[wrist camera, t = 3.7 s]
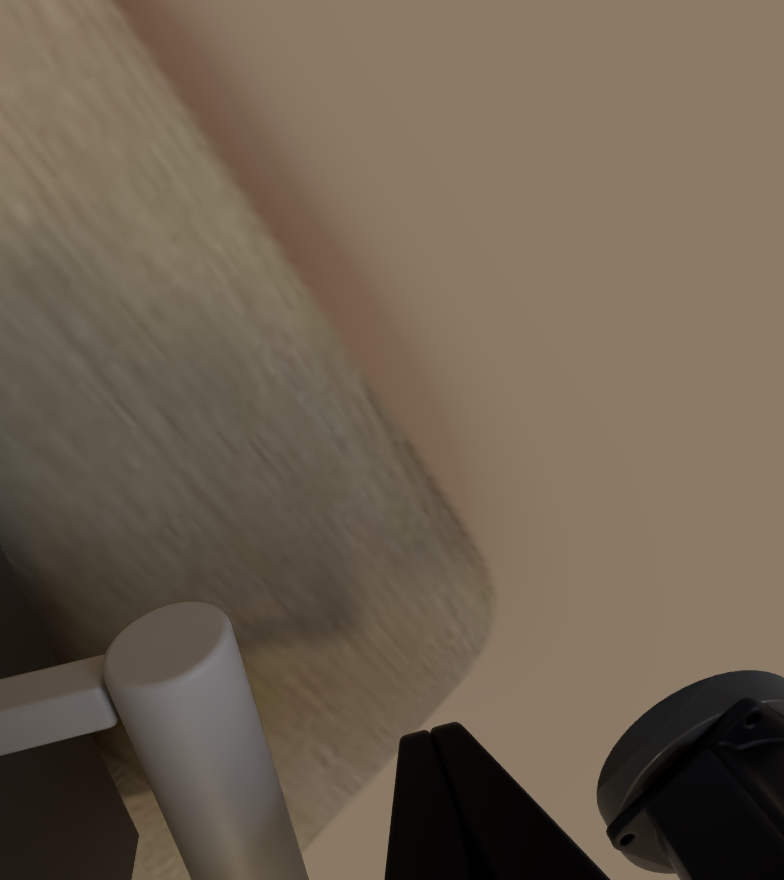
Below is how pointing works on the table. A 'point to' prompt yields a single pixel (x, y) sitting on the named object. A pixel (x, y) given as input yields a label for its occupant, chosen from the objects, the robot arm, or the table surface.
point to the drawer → (136, 750)
